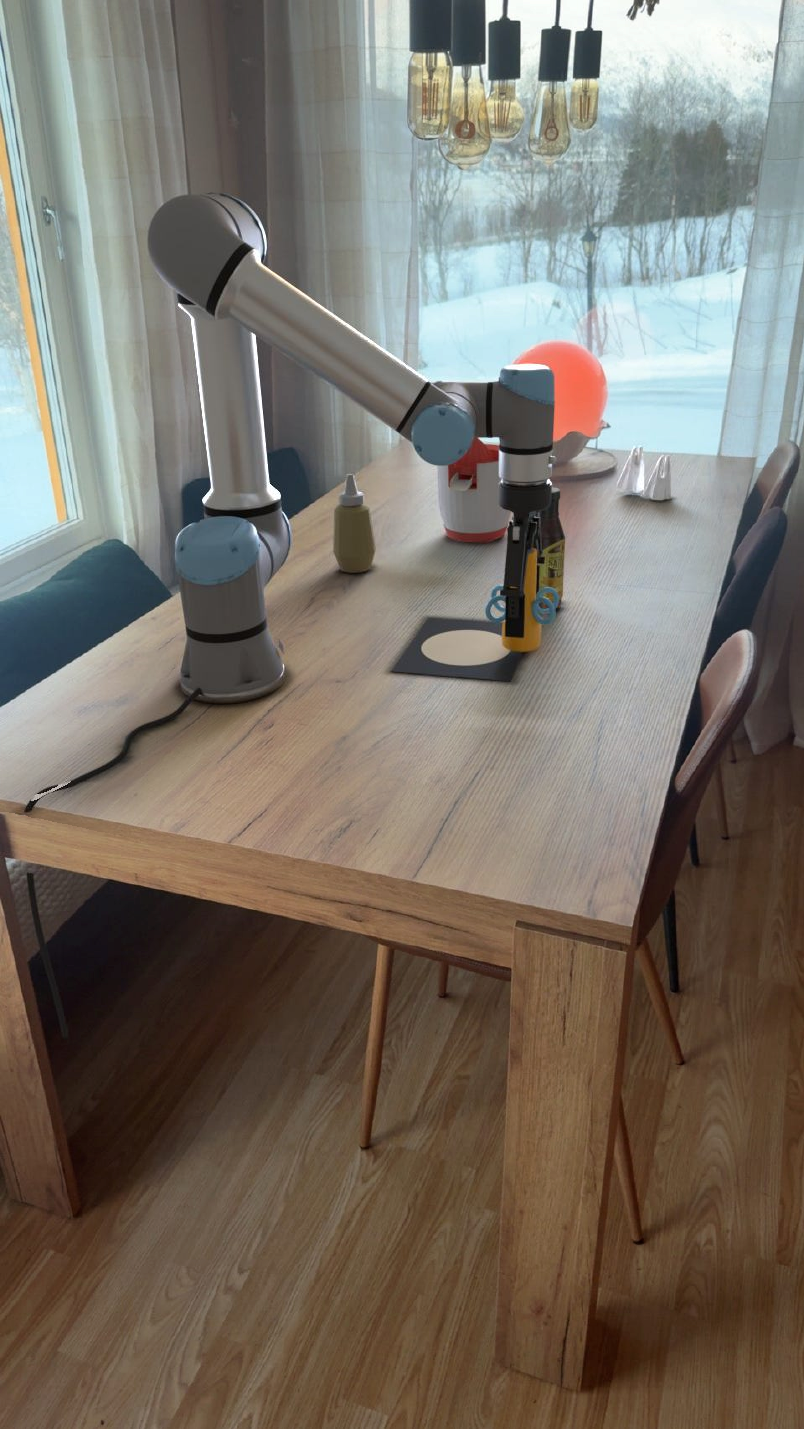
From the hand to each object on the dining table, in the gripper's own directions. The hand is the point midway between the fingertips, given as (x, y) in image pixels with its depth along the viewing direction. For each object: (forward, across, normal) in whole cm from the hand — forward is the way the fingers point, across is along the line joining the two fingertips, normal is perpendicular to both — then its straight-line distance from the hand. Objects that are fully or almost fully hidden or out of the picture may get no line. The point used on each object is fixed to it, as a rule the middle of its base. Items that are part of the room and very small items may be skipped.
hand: (522, 620), depth 160 cm
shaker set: (+5, +91, -11) cm, 92 cm away
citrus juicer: (+5, +56, +20) cm, 60 cm away
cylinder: (+4, 0, 0) cm, 4 cm away
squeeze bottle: (+6, +33, +38) cm, 50 cm away
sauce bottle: (+5, +20, 0) cm, 21 cm away
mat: (+5, 0, +9) cm, 10 cm away
